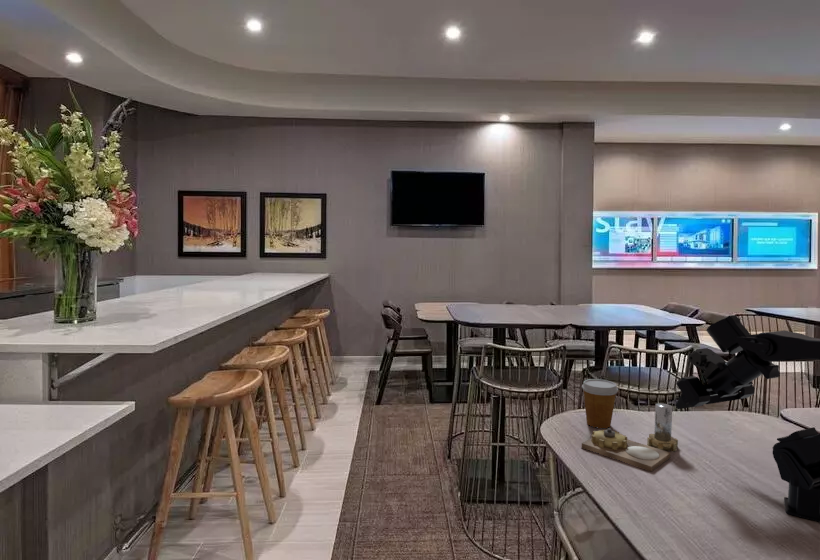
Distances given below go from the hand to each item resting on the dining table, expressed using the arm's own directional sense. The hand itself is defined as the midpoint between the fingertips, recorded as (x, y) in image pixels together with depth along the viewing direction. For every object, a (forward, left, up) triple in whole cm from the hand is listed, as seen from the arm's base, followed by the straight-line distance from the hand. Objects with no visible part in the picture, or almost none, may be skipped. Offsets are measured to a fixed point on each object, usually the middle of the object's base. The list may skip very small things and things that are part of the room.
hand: (691, 404), depth 115 cm
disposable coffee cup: (+10, +23, -13) cm, 29 cm away
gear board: (-5, +13, -13) cm, 19 cm away
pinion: (+4, +6, -13) cm, 15 cm away
